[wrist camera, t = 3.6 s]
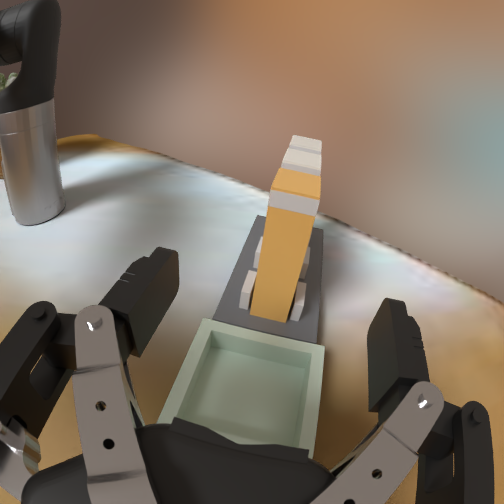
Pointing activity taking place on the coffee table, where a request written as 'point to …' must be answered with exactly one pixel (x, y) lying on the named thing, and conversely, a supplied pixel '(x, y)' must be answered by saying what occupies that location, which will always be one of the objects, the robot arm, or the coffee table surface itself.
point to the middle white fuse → (302, 162)
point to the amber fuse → (284, 242)
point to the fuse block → (304, 300)
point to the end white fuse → (306, 144)
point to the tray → (249, 386)
